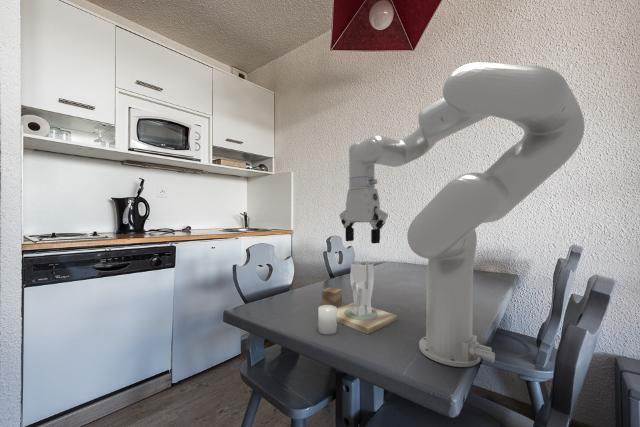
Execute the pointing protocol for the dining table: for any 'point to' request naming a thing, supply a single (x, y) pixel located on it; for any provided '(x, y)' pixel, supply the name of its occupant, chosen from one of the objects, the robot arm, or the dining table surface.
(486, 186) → the robot arm
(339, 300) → the walnut block
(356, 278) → the beer glass
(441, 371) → the dining table surface
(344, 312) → the birch board
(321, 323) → the white short cylinder
